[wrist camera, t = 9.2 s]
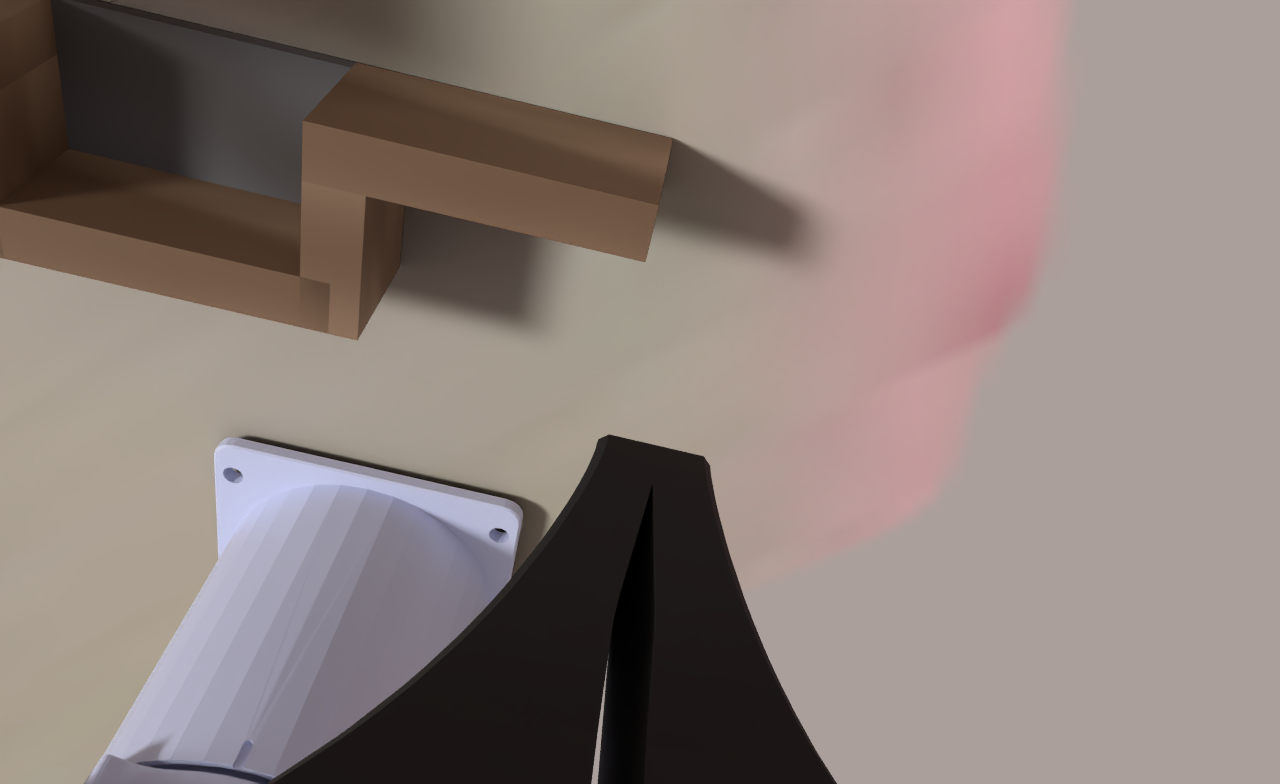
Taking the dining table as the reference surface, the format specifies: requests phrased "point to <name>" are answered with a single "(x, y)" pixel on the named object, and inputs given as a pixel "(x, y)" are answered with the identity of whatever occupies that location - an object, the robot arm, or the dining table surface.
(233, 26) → the dining table surface
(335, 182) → the wooden frame
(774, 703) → the robot arm
